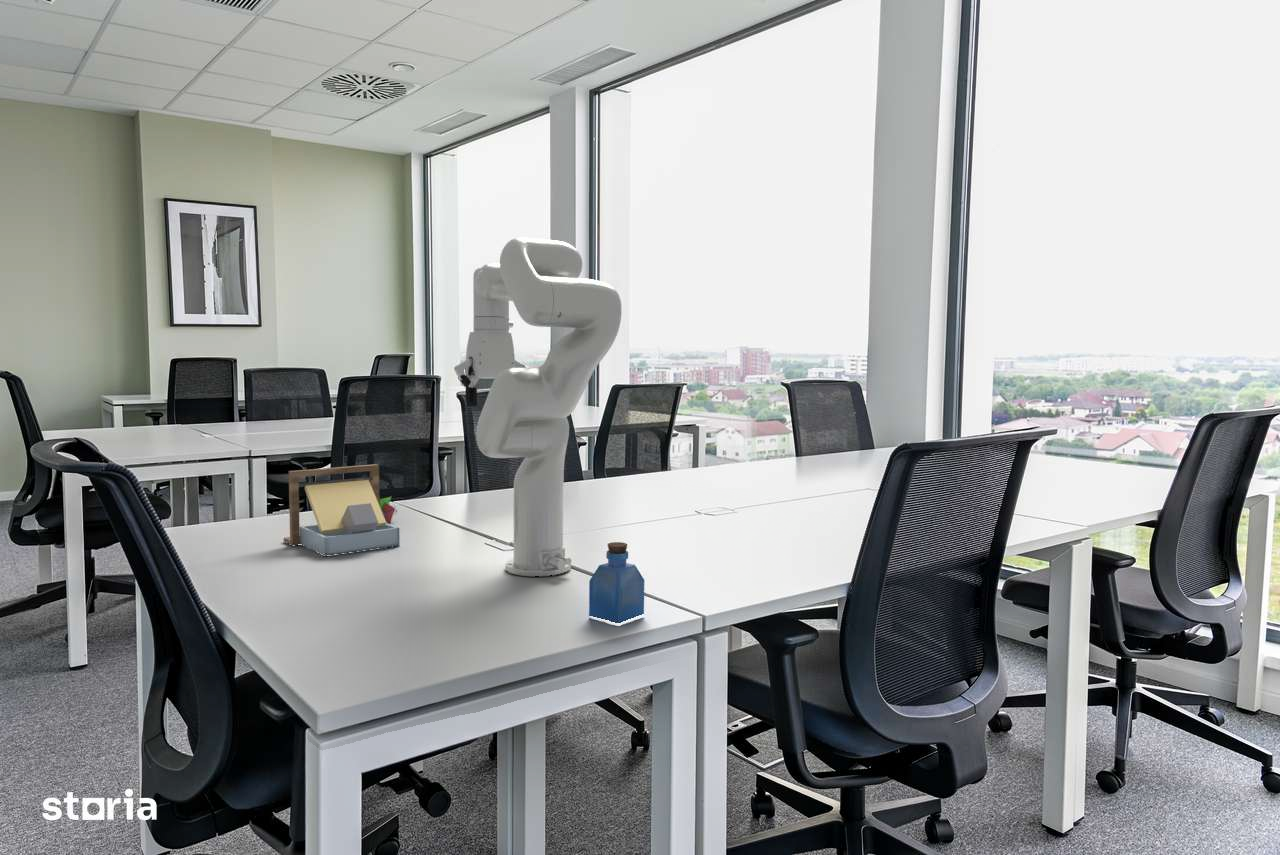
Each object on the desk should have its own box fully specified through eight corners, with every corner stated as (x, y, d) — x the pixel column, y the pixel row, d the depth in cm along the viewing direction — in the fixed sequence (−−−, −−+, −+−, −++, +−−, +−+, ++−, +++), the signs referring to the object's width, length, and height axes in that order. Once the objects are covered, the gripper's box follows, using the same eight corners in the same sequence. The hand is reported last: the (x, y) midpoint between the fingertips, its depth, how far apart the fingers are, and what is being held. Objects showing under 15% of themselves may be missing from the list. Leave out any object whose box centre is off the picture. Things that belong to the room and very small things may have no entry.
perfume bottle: (614, 610, 141) (615, 538, 139) (643, 618, 137) (645, 544, 136) (589, 618, 136) (589, 544, 135) (618, 627, 132) (619, 550, 131)
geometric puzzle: (408, 513, 209) (392, 486, 210) (390, 518, 202) (373, 490, 204) (389, 529, 211) (373, 502, 213) (371, 534, 205) (354, 506, 206)
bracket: (380, 534, 194) (379, 465, 193) (293, 546, 182) (291, 472, 180) (369, 530, 199) (368, 462, 197) (283, 542, 186) (282, 469, 184)
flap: (384, 525, 186) (386, 522, 186) (321, 533, 177) (322, 530, 176) (367, 482, 192) (368, 479, 191) (304, 488, 182) (305, 485, 182)
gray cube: (371, 536, 181) (378, 522, 178) (348, 539, 178) (355, 525, 175) (363, 517, 184) (370, 503, 181) (341, 520, 180) (347, 505, 177)
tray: (399, 546, 184) (399, 527, 183) (325, 557, 173) (325, 537, 173) (371, 535, 194) (371, 517, 194) (300, 545, 183) (299, 526, 183)
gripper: (515, 327, 192) (515, 403, 194) (446, 325, 181) (446, 405, 182) (534, 327, 187) (534, 405, 188) (464, 324, 175) (464, 407, 177)
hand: (491, 405), depth 185 cm, fingers open, 9 cm apart
